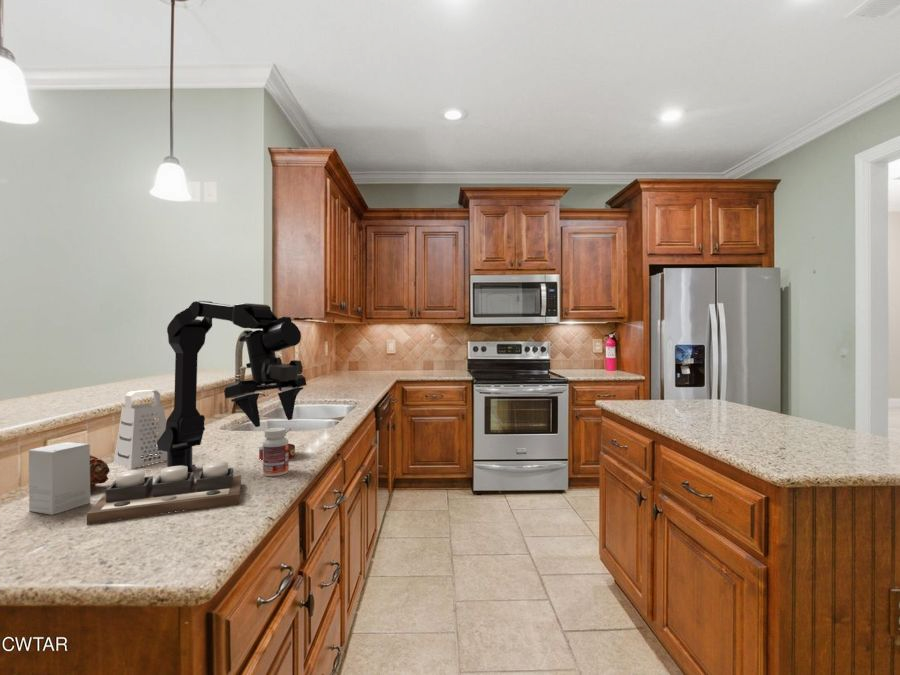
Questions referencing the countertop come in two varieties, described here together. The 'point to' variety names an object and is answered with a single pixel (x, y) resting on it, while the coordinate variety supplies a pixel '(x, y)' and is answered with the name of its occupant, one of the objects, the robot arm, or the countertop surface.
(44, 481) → the supplement box
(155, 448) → the grater
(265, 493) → the countertop surface
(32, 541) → the countertop surface
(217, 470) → the button
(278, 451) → the pill bottle
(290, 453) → the canned food
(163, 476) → the button middle
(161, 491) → the button board
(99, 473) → the dragon fruit
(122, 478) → the button
